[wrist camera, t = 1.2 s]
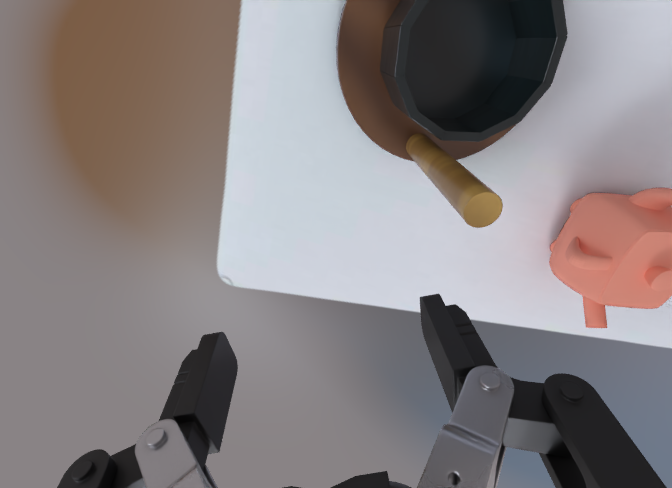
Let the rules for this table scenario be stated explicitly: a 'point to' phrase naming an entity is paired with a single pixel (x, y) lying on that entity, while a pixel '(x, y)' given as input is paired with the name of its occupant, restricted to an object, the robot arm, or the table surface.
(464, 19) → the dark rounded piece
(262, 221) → the table surface
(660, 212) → the teapot
